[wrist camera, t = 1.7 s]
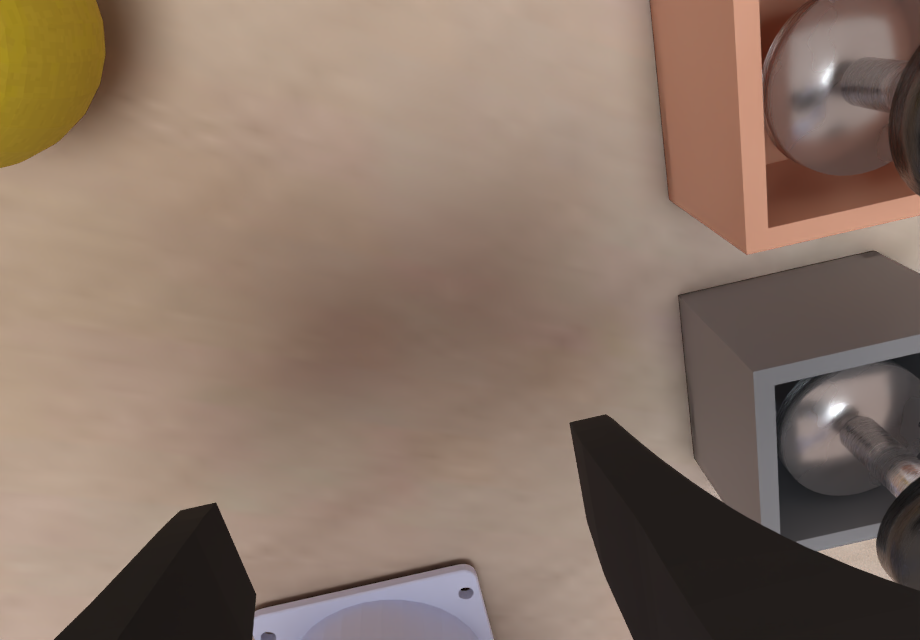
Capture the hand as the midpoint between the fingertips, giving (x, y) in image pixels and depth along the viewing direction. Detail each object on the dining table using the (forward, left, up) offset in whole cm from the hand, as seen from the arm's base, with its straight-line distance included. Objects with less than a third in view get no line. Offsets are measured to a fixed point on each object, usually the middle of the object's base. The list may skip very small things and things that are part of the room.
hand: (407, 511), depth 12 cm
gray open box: (-5, -11, -10) cm, 16 cm away
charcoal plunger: (-5, -11, -6) cm, 14 cm away
